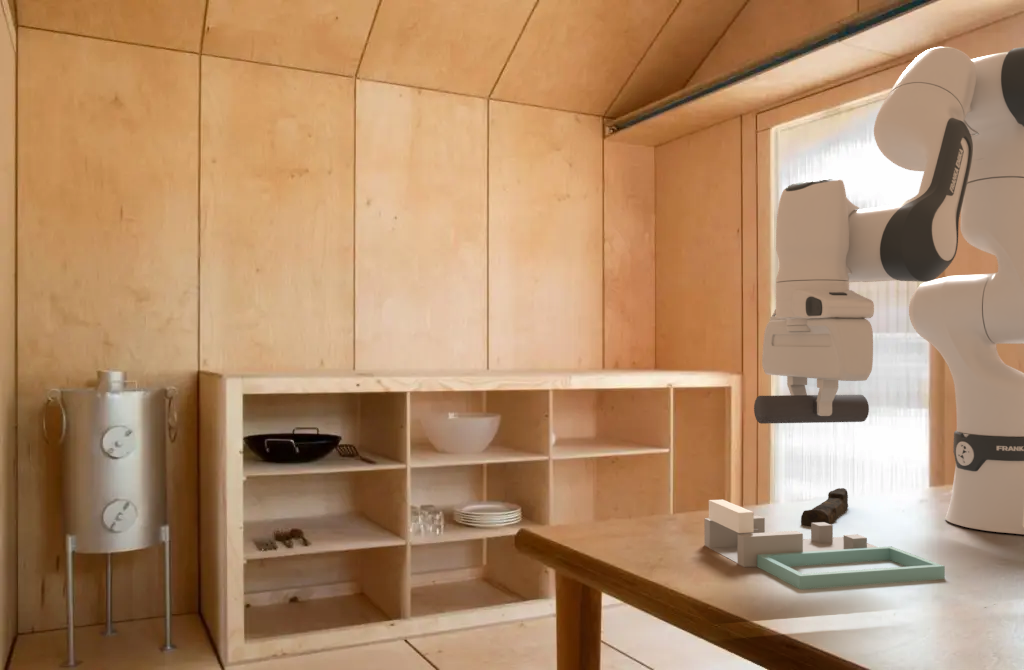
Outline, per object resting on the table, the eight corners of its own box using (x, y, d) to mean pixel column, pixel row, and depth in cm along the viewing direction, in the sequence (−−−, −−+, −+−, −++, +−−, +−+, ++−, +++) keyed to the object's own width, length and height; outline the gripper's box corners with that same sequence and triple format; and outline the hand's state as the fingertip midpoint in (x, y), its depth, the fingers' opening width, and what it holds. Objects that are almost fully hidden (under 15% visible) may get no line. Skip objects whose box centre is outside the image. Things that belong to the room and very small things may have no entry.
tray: (891, 566, 109) (891, 546, 109) (944, 588, 100) (944, 566, 100) (757, 575, 105) (757, 554, 105) (800, 599, 95) (799, 576, 95)
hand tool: (827, 538, 125) (827, 506, 125) (800, 534, 128) (800, 503, 128) (862, 516, 140) (862, 488, 140) (837, 513, 143) (837, 485, 143)
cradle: (849, 545, 120) (849, 510, 120) (901, 565, 109) (901, 527, 109) (704, 554, 115) (704, 518, 115) (743, 576, 105) (743, 537, 105)
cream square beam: (722, 518, 115) (722, 499, 115) (753, 532, 106) (753, 512, 106) (708, 518, 114) (708, 500, 114) (738, 533, 106) (738, 512, 106)
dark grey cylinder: (852, 420, 112) (852, 393, 112) (868, 423, 109) (868, 395, 109) (754, 422, 110) (754, 394, 110) (767, 424, 106) (767, 396, 106)
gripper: (750, 308, 119) (750, 407, 119) (834, 301, 99) (834, 421, 99) (792, 308, 120) (792, 407, 120) (883, 302, 100) (883, 420, 100)
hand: (811, 413), depth 109 cm, fingers closed on dark grey cylinder, 3 cm apart
